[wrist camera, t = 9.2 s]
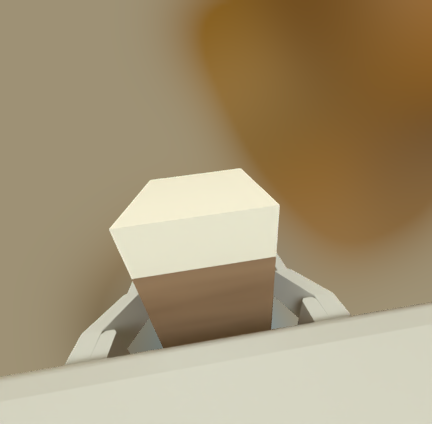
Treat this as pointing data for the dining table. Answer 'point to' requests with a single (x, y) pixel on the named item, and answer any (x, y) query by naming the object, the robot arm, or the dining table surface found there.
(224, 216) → the walnut block
